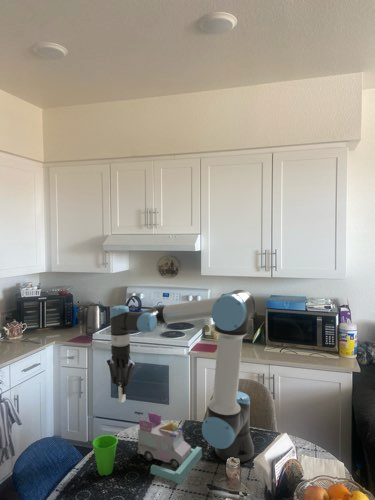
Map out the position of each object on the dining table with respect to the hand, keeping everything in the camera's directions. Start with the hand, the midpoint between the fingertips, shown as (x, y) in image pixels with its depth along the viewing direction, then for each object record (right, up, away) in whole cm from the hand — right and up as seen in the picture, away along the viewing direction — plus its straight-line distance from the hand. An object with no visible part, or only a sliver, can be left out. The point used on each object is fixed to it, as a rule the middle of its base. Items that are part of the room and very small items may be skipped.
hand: (122, 401), depth 154 cm
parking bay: (+23, -18, -15) cm, 32 cm away
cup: (-3, -18, -19) cm, 26 cm away
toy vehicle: (+18, -18, -11) cm, 28 cm away
